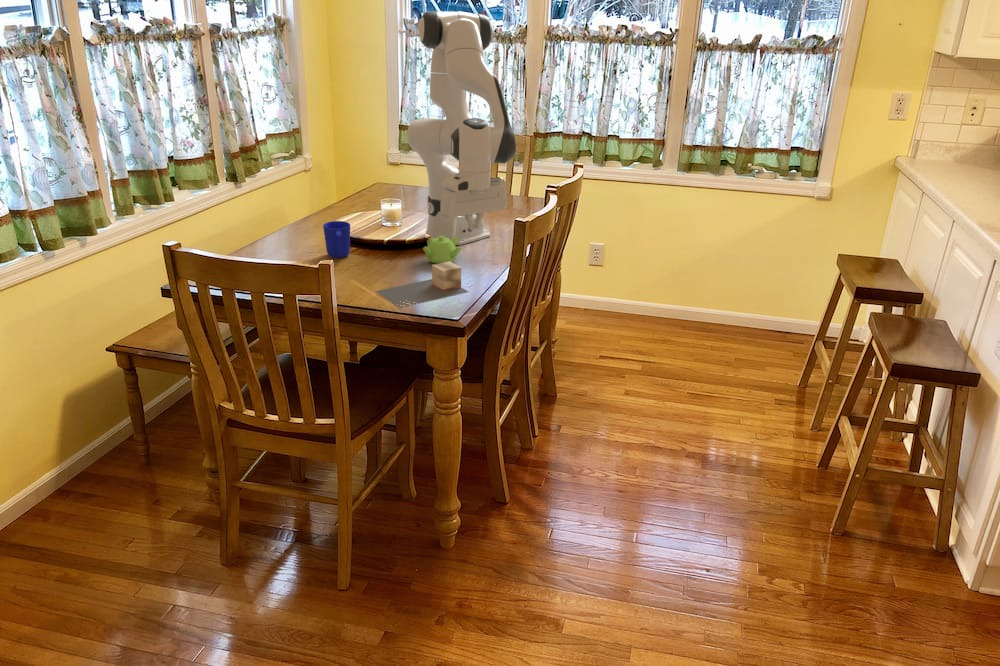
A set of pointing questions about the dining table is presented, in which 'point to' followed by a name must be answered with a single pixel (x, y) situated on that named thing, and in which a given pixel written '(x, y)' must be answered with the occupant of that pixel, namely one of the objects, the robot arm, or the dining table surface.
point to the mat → (417, 293)
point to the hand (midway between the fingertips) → (473, 228)
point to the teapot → (441, 249)
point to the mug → (337, 238)
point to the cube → (446, 276)
